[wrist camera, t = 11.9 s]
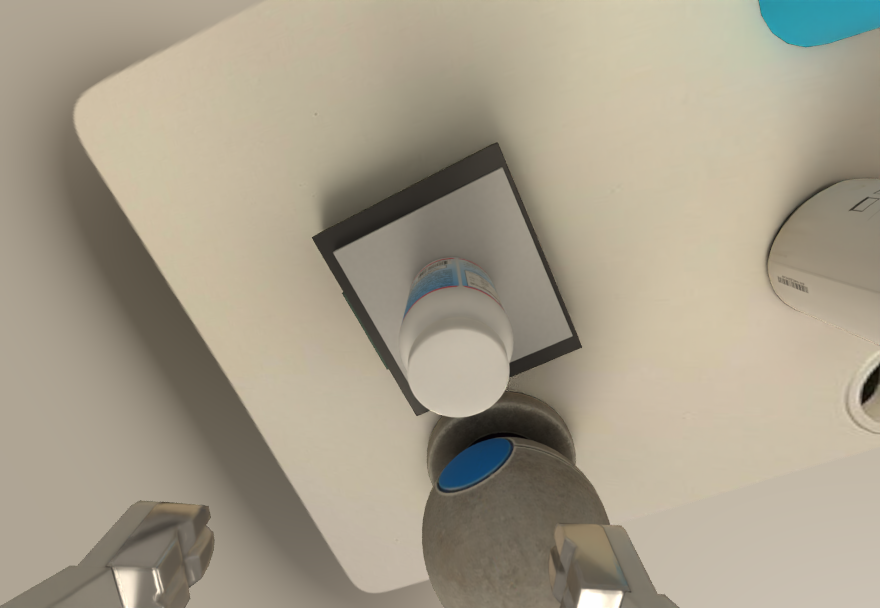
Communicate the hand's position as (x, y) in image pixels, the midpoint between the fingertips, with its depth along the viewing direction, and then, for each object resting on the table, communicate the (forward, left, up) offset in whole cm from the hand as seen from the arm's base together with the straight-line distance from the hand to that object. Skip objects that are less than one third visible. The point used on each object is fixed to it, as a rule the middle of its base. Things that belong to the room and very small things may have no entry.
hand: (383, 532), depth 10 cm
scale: (+2, +2, -23) cm, 23 cm away
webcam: (+18, -1, -24) cm, 29 cm away
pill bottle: (+2, +2, -20) cm, 20 cm away
